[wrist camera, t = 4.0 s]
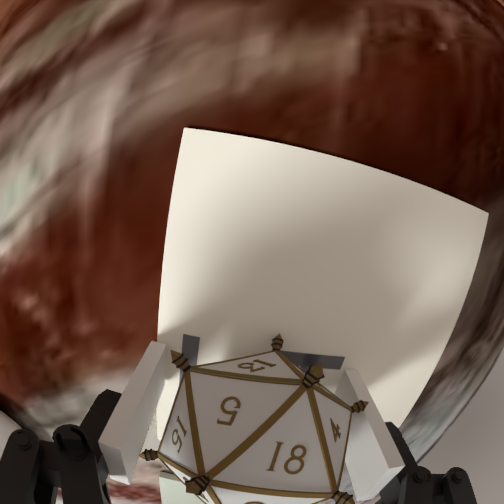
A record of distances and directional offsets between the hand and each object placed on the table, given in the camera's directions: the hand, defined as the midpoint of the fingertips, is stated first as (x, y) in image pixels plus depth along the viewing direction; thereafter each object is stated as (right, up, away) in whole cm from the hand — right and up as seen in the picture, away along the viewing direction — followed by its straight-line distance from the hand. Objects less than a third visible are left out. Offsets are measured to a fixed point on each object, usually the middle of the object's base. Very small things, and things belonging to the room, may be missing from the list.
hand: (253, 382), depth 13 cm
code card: (+3, +1, 0) cm, 4 cm away
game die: (0, 0, 0) cm, 0 cm away
